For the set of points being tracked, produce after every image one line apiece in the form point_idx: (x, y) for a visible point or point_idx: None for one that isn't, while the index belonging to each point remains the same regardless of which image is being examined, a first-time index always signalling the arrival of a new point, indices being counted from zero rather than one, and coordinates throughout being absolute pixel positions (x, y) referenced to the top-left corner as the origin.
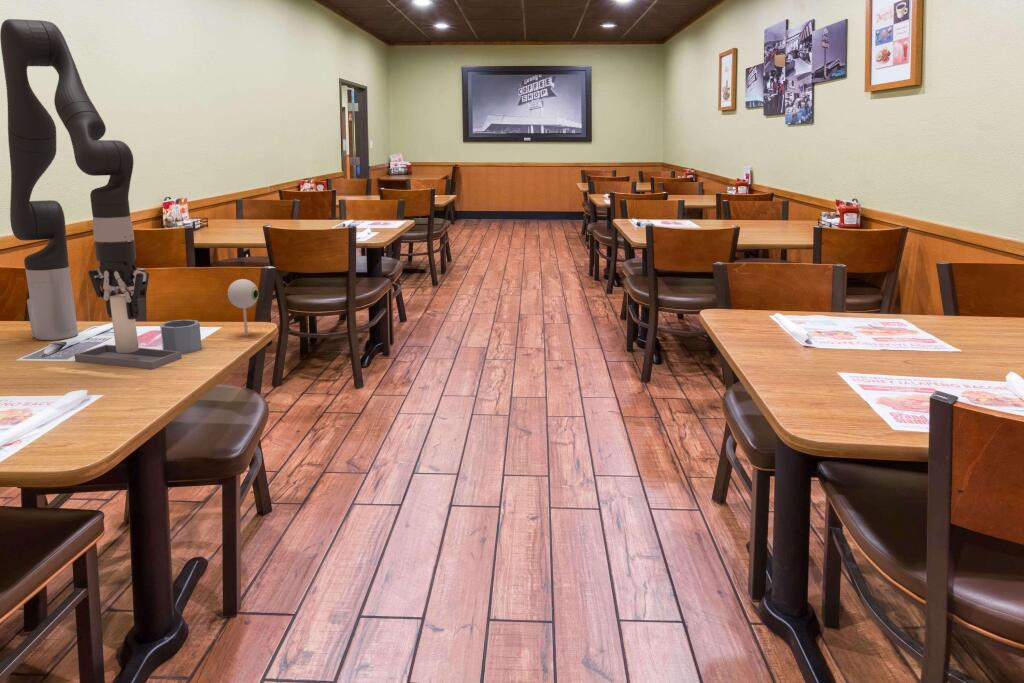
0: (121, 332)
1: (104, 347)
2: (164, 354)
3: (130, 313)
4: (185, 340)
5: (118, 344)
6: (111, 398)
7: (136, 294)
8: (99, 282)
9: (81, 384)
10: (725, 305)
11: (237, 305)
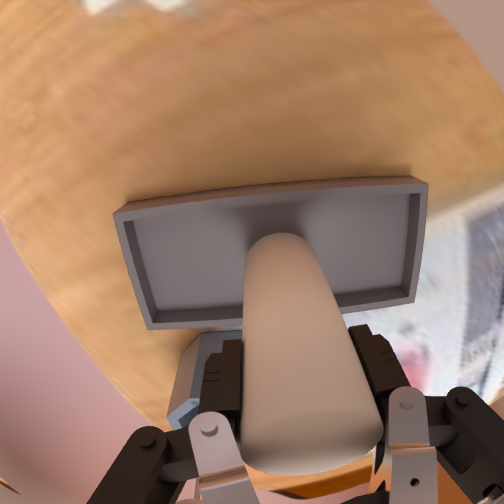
0: (267, 275)
1: (407, 287)
2: (197, 314)
3: (221, 361)
4: (180, 379)
5: (284, 245)
6: (58, 16)
7: (130, 457)
8: (484, 471)
9: (228, 32)
10: (13, 489)
11: (190, 502)
